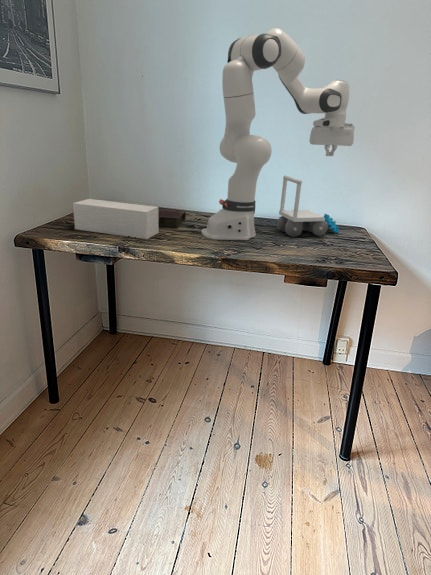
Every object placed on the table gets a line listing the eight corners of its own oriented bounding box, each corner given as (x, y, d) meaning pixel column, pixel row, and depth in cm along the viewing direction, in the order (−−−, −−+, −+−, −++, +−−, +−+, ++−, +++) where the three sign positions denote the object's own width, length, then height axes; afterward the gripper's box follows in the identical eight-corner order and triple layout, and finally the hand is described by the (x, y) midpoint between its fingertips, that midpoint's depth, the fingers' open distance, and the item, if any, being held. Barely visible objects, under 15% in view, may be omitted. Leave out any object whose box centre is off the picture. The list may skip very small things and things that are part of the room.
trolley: (288, 238, 168) (295, 180, 159) (274, 230, 181) (279, 175, 172) (328, 237, 174) (337, 180, 165) (312, 228, 186) (320, 175, 177)
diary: (133, 217, 194) (132, 206, 192) (185, 221, 192) (185, 210, 190) (120, 225, 176) (120, 214, 174) (178, 230, 174) (178, 218, 172)
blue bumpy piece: (336, 232, 176) (323, 213, 177) (324, 239, 179) (312, 221, 181) (343, 231, 185) (331, 212, 186) (332, 238, 188) (320, 220, 190)
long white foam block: (158, 233, 167) (158, 206, 163) (146, 239, 158) (146, 211, 154) (90, 224, 176) (88, 198, 172) (75, 229, 166) (72, 203, 162)
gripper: (350, 123, 183) (345, 156, 188) (310, 121, 177) (305, 154, 182) (359, 123, 177) (353, 157, 183) (317, 121, 172) (312, 156, 177)
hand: (329, 156), depth 182 cm, fingers closed
